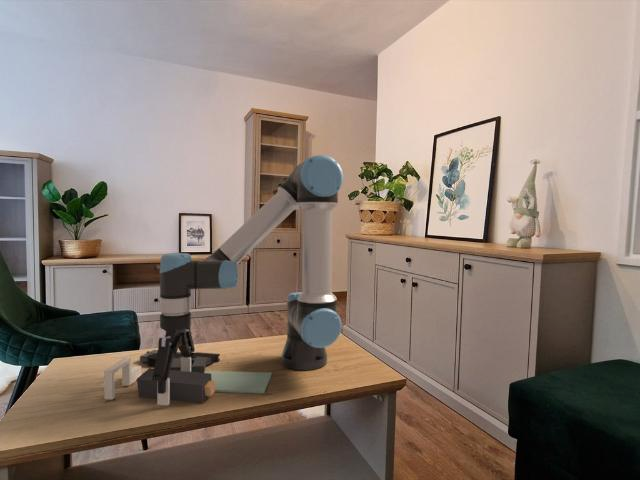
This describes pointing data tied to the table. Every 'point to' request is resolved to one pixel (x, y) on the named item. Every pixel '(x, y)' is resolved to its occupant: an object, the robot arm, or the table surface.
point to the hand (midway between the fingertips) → (175, 391)
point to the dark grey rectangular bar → (179, 386)
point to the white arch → (127, 376)
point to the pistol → (198, 360)
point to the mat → (240, 381)
